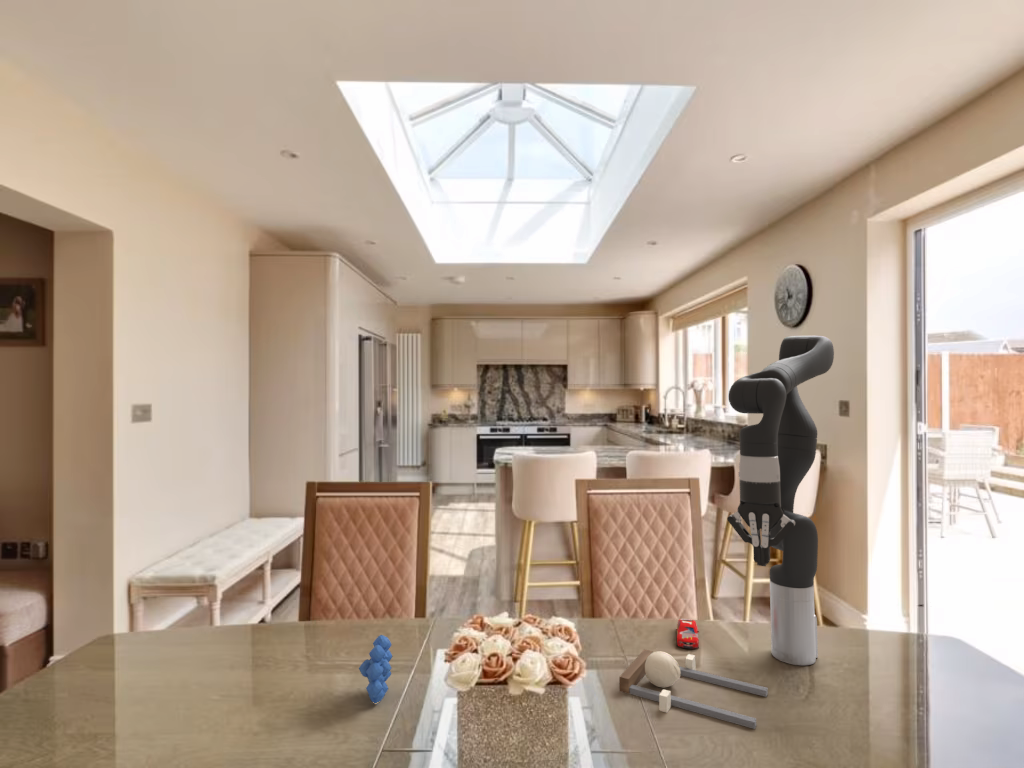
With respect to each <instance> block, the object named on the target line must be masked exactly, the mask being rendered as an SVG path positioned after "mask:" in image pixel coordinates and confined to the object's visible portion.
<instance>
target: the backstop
mask: <svg viewBox="0 0 1024 768" xmlns="http://www.w3.org/2000/svg"><path fill="white" fill-rule="evenodd" d="M651 653H653V650H649V649H645V648H644V649H643V650H642V651H641V652H640V653H639V654H638V655H637V657H635V659H634V660H632V662H631V663H630V664H629V665H628V666H627V668H625V670H624V671H623V672H622V673H621V675H619V692H620V693H621V692H622V693H624V694H628V695H630V694H629V687H630V686H631V685H636V686H638V684H639V682H640V681H641V680H642V679H643V678H644V676H646V673H645V662H646V659H647V658H648V656H649V655H650V654H651Z"/></svg>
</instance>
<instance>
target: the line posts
mask: <svg viewBox="0 0 1024 768" xmlns="http://www.w3.org/2000/svg"><path fill="white" fill-rule="evenodd" d="M684 663H685V668H689V669H693V670H696V668H697V667H696V666H697V665H696V655H694V654H692V653H691V654H690V653H688V654H687V655H686V657H685V662H684ZM671 695H672V691H671V690H668V689H665V688H664V689H662V690H661V693H660V694H659V702H658V703H659V705H658V707H659V708H658V709H659V711H660V712H664V713H666V714H667V713H668V712H669V711H670V709H671V708H672V705H671Z"/></svg>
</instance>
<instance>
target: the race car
mask: <svg viewBox="0 0 1024 768" xmlns="http://www.w3.org/2000/svg"><path fill="white" fill-rule="evenodd" d="M675 631H676V644H677V645H676V646H677V647H681V648H684V649H692V650H693V649H699V647H700V646H699V644H700V642H699V641H700V640H699V633H700V631H699V629H698V625H697V622H696V620H694V619H692V618H691V619H689V618H679V619H678V621H677V624H676V629H675Z"/></svg>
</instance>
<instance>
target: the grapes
mask: <svg viewBox="0 0 1024 768" xmlns="http://www.w3.org/2000/svg"><path fill="white" fill-rule="evenodd" d="M372 644H373V647H372V649H371V650H370V651H369V653H368V655H369V658H370V659H365V660H364V661H363V662H362V663H361V664H360V666H359V667H358V669H359V672H360V674H361V676H363V677H365V678H366V679H367V680H368V684H367V686H366V687H365V688H366V691H367V693H368V698H369V699H370V701H371V703H373V702H374V703H377V702H379V701H380V702H381V701H382V700H383V699H384V697H385V696H386V693H387V692H388V690H389V687H388V684H387V683H386V682H387V680H388V679H389V678H390V677H391V675H392V672H391V670H392V665H391V664H390V661H391V660H392V659H393V657H394V656H393V655H392V652H391V651H390V649H391V647H392V642H391V640H390V639H389V638H388V636H385V635H383V634H379V635H378V636H377V637H376V638H375V640H374V641H373V642H372ZM380 702H379V703H380ZM374 703H373V704H374Z"/></svg>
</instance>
